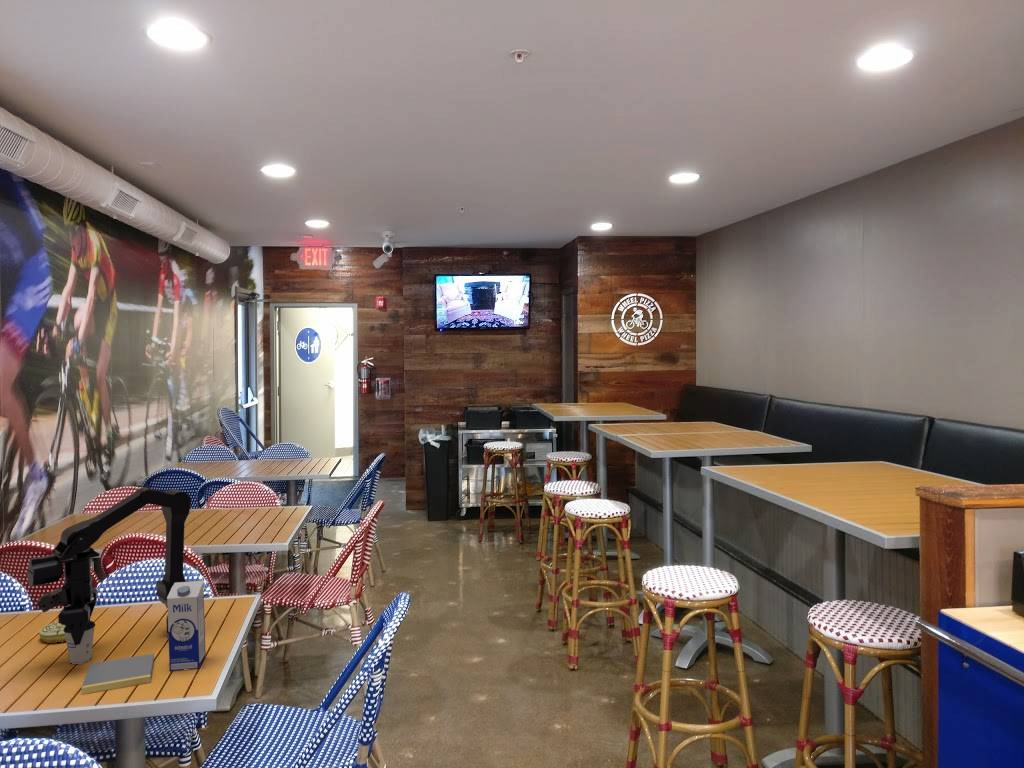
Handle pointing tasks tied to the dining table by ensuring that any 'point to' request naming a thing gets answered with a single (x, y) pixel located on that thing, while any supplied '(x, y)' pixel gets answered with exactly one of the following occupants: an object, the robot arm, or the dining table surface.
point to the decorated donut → (53, 633)
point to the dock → (118, 673)
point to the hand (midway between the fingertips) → (80, 637)
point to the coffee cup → (80, 645)
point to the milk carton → (186, 625)
